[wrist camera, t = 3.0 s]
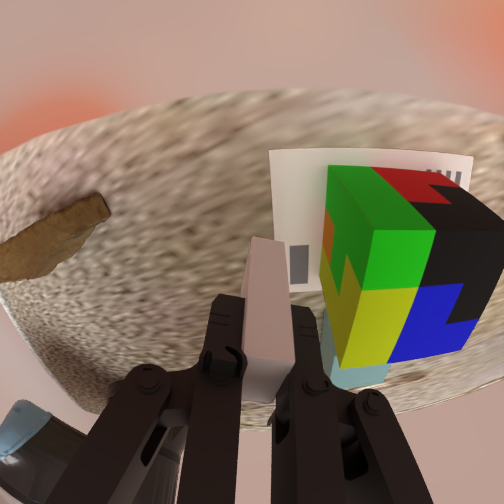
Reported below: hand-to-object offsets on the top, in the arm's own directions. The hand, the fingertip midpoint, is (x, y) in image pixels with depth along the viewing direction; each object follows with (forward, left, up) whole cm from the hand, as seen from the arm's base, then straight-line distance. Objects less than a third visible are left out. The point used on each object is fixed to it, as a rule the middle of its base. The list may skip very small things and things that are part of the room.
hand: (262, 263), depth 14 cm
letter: (+10, 0, -9) cm, 14 cm away
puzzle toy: (+10, 0, -9) cm, 14 cm away
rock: (-17, -6, -9) cm, 20 cm away
